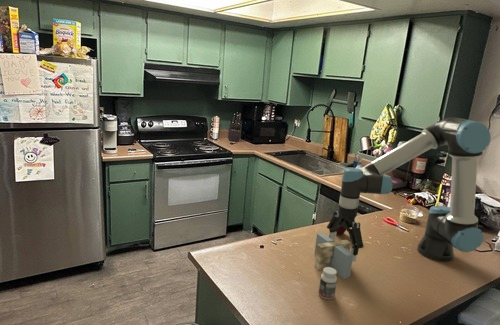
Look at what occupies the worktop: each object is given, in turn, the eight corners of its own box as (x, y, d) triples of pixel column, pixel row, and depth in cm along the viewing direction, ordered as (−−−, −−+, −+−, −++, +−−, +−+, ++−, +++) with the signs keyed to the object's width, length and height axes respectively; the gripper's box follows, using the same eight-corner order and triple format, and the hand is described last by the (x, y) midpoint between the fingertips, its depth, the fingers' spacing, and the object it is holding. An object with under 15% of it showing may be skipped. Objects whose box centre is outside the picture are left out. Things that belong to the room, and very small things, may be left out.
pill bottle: (316, 290, 127) (319, 265, 125) (331, 290, 128) (335, 266, 126) (320, 299, 122) (324, 274, 119) (336, 300, 122) (340, 275, 120)
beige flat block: (343, 260, 150) (346, 239, 148) (347, 264, 147) (351, 242, 145) (314, 266, 144) (317, 244, 141) (318, 270, 141) (321, 247, 139)
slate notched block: (349, 277, 137) (353, 254, 135) (343, 278, 136) (347, 255, 134) (319, 253, 155) (322, 232, 153) (314, 254, 154) (317, 233, 151)
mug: (349, 240, 171) (352, 221, 168) (332, 238, 171) (335, 219, 169) (345, 231, 181) (348, 213, 179) (329, 229, 182) (332, 211, 179)
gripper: (377, 216, 132) (369, 266, 137) (336, 195, 154) (330, 239, 159) (362, 218, 129) (354, 270, 134) (322, 196, 151) (317, 241, 156)
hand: (341, 253), depth 146 cm, fingers open, 13 cm apart
